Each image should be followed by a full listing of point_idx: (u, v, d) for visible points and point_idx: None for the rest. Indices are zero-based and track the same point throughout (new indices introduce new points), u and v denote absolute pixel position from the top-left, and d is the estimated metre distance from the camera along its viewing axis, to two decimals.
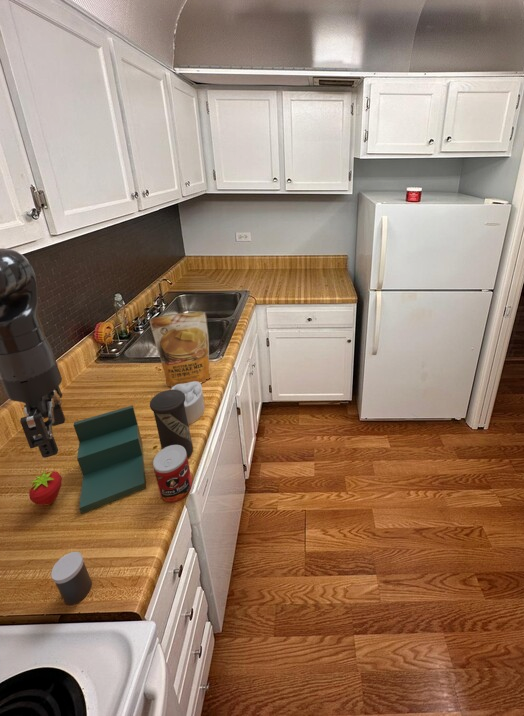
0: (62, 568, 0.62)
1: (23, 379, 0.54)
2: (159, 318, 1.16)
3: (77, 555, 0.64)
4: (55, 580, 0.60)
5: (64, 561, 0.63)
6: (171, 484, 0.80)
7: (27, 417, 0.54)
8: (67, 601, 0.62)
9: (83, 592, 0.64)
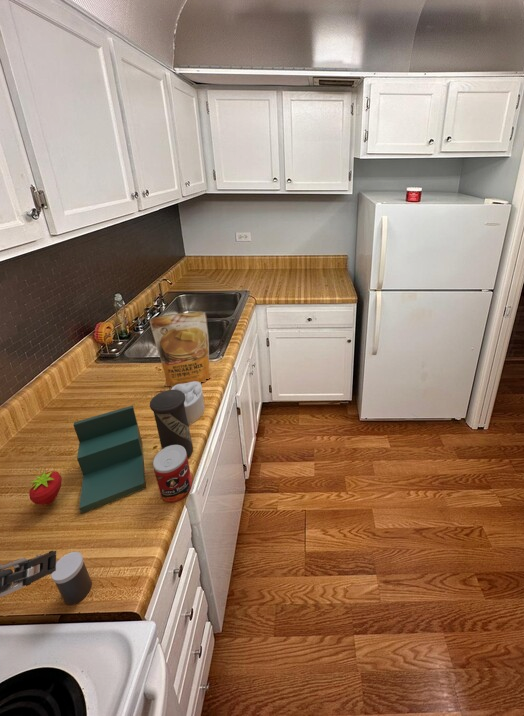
0: (62, 568, 0.62)
1: None
2: (159, 318, 1.16)
3: (77, 555, 0.64)
4: (55, 580, 0.60)
5: (64, 561, 0.63)
6: (171, 484, 0.80)
7: None
8: (67, 601, 0.62)
9: (83, 592, 0.64)
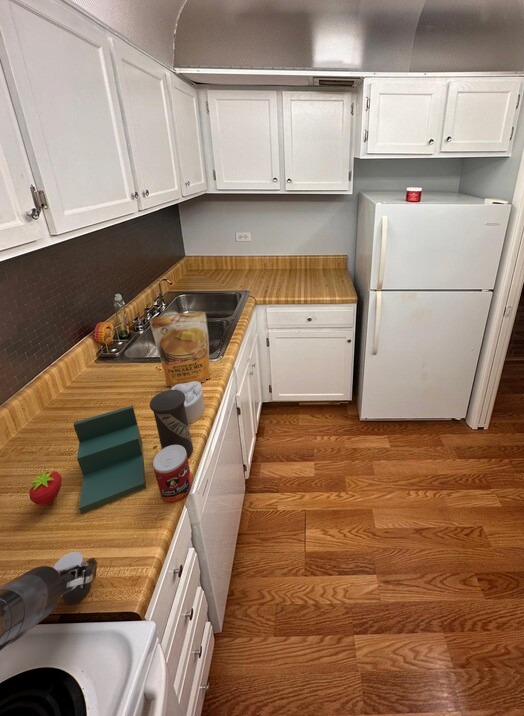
0: (62, 568, 0.62)
1: None
2: (159, 318, 1.16)
3: (77, 555, 0.64)
4: None
5: (64, 561, 0.63)
6: (171, 484, 0.80)
7: None
8: (67, 601, 0.62)
9: (83, 592, 0.64)
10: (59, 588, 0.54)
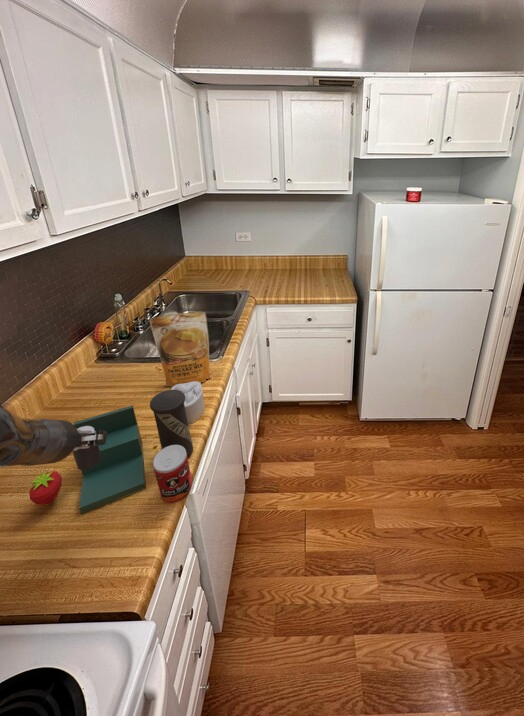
0: None
1: None
2: (159, 318, 1.16)
3: (89, 428, 0.73)
4: None
5: None
6: (171, 484, 0.80)
7: None
8: (80, 466, 0.72)
9: (94, 460, 0.73)
10: (75, 436, 0.63)
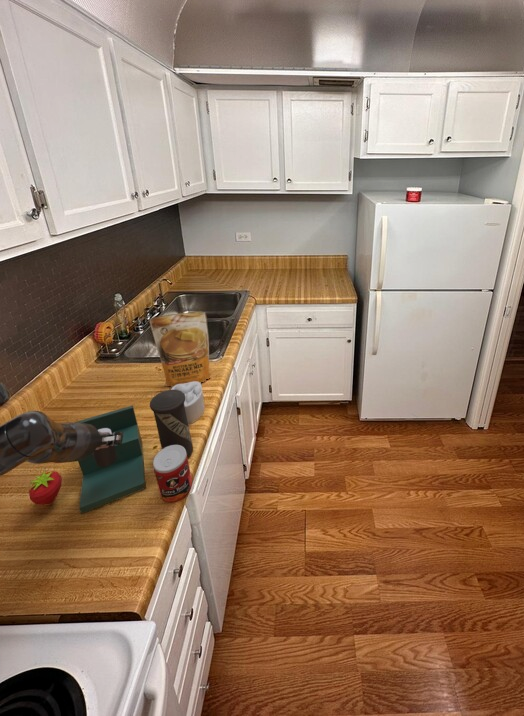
0: None
1: None
2: (159, 318, 1.16)
3: (107, 430, 0.82)
4: None
5: None
6: (171, 484, 0.80)
7: None
8: (100, 463, 0.81)
9: (112, 458, 0.82)
10: (97, 437, 0.72)
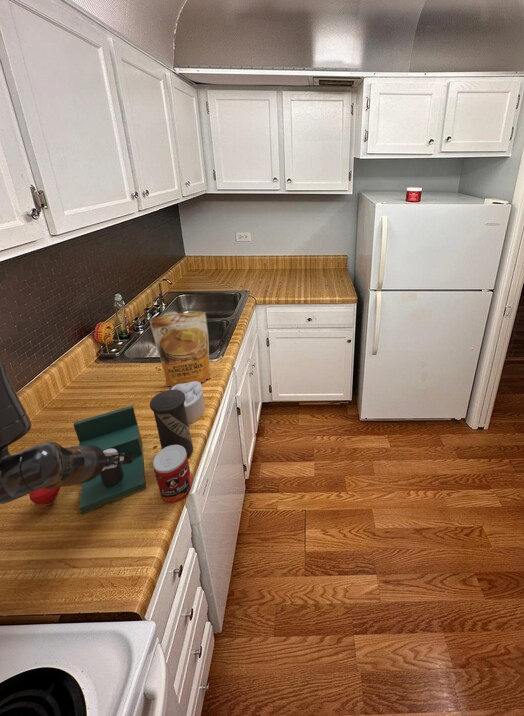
0: None
1: None
2: (159, 318, 1.16)
3: (113, 450, 0.84)
4: None
5: None
6: (171, 484, 0.80)
7: None
8: (106, 483, 0.83)
9: (118, 478, 0.84)
10: (103, 459, 0.74)
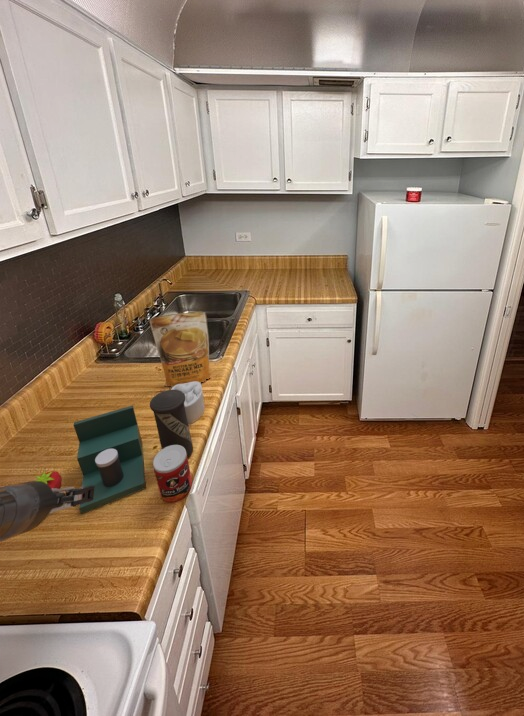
0: (103, 457, 0.82)
1: None
2: (159, 318, 1.16)
3: (113, 450, 0.84)
4: (98, 464, 0.81)
5: (104, 453, 0.83)
6: (171, 484, 0.80)
7: None
8: (106, 483, 0.83)
9: (118, 478, 0.84)
10: (50, 500, 0.56)
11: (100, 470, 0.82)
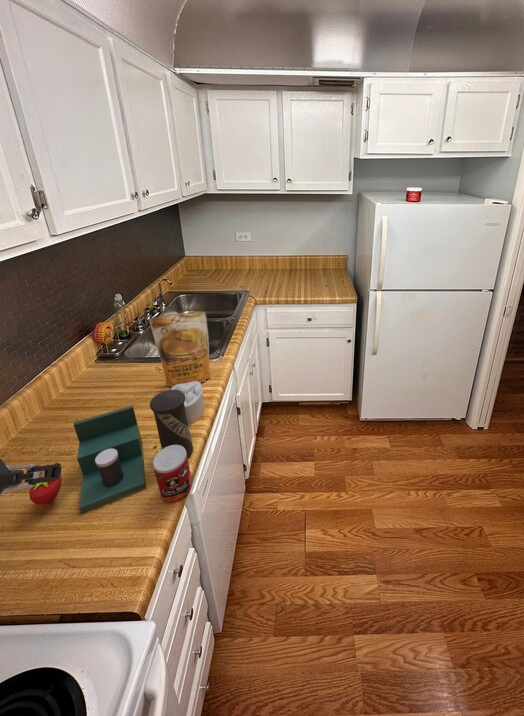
0: (103, 457, 0.82)
1: None
2: (159, 318, 1.16)
3: (113, 450, 0.84)
4: (98, 464, 0.81)
5: (104, 453, 0.83)
6: (171, 484, 0.80)
7: None
8: (106, 483, 0.83)
9: (118, 478, 0.84)
10: (3, 476, 0.48)
11: (100, 470, 0.82)
